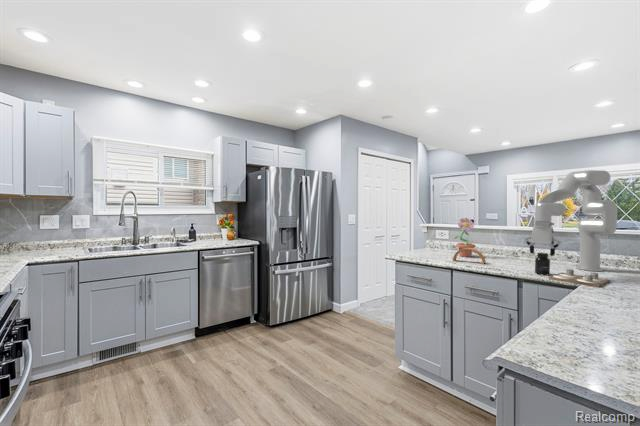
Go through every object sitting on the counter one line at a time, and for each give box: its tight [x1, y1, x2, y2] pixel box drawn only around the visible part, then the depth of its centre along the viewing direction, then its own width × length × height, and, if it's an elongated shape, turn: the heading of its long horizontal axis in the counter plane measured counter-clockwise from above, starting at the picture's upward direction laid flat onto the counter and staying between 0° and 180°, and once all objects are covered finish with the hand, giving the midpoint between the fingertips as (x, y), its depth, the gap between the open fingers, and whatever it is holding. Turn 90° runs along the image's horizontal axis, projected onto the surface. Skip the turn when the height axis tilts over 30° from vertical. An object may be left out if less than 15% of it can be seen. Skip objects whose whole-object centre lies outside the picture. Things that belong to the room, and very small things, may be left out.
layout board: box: [548, 268, 611, 288], centre depth 157 cm, size 19×20×4 cm
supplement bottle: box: [534, 252, 551, 276], centre depth 172 cm, size 7×7×12 cm
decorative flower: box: [454, 217, 476, 258], centre depth 235 cm, size 15×14×30 cm
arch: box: [452, 248, 487, 265], centre depth 210 cm, size 6×20×10 cm, turn 51°
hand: (541, 254), depth 172 cm, fingers open, 9 cm apart
